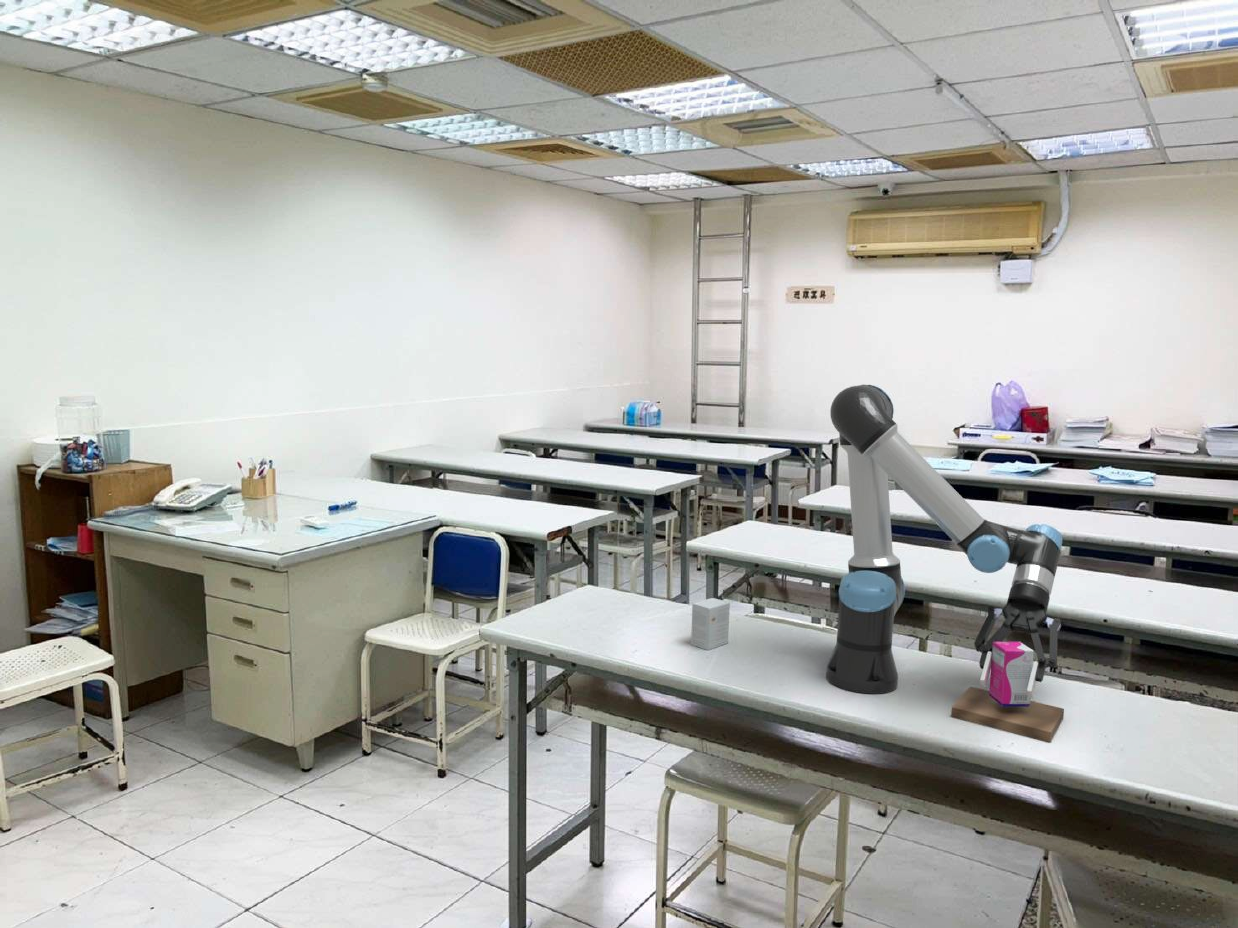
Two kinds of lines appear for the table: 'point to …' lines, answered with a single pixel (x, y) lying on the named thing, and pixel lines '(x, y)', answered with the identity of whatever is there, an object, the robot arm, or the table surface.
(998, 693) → the supplement box
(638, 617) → the table surface
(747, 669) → the table surface
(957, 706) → the brown flat block
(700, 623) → the small box
